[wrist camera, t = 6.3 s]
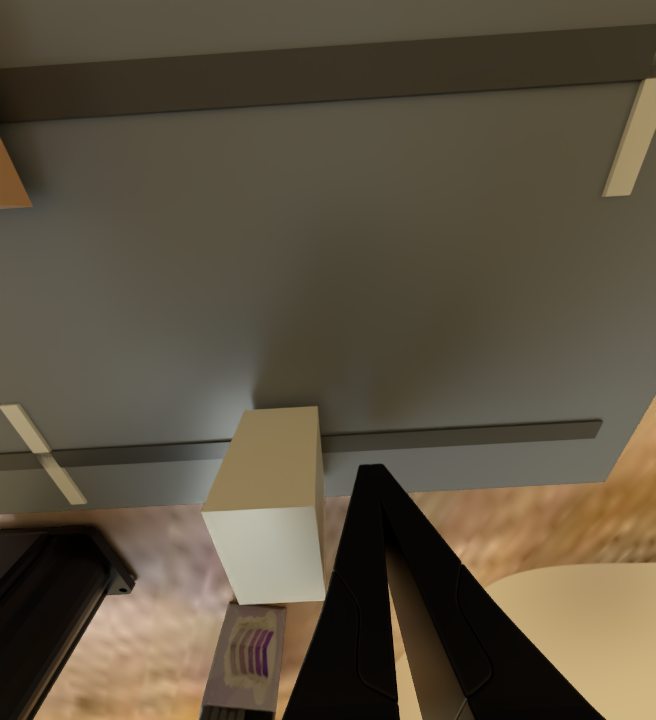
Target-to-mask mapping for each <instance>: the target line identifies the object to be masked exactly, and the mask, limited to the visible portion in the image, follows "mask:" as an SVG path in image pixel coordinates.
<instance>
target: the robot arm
mask: <svg viewBox="0 0 656 720" xmlns="http://www.w3.org/2000/svg"><path fill="white" fill-rule="evenodd" d="M461 563H462V562H461V560H460V559H459V558H458V557H457V555H456V554H455V553H454V552H453V550H452V549H451V548H450V547H449V545H448V544H447V543H446V542H445V540H444V539H443V538H442V537H441V535H440V534H439V533H438V532H437V530H436V529H435V528H434V527H433V525H432V524H431V523H430V522H429V520H428V519H427V518H426V517H425V515H424V514H423V513H422V512H421V510H420V509H419V508H418V507H417V505H416V504H415V503H414V502H413V500H412V499H411V498H410V497H409V495H408V494H407V493H406V492H405V490H404V489H403V488H402V487H401V485H400V484H399V483H398V482H397V480H396V479H395V478H394V477H393V475H392V474H391V473H390V472H389V470H388V469H387V468H386V467H385V465H384V464H381V463H380V464H361V465H359V467H358V471H357V475H356V479H355V483H354V487H353V491H352V495H351V499H350V503H349V507H348V511H347V515H346V519H345V523H344V527H343V531H342V535H341V539H340V543H339V547H338V551H337V555H336V559H335V563H334V567H333V571H332V574H331V578H330V582H329V586H328V590H327V593H326V597H325V600H324V604H323V607H322V611H321V614H320V617H319V620H318V623H317V625H316V628H315V631H314V634H313V637H312V640H311V643H310V645H309V648H308V651H307V653H306V656H305V659H304V661H303V664H302V667H301V670H300V672H299V675H298V678H297V680H296V683H295V686H294V688H293V691H292V694H291V696H290V699H289V702H288V705H287V707H286V710H285V712H284V715H283V718H282V720H400V716H399V706H398V693H397V682H396V670H395V658H394V647H393V635H392V624H391V612H390V601H389V589H388V583H389V587H390V591H391V595H392V599H393V603H394V607H395V611H396V615H397V619H398V623H399V627H400V631H401V635H402V639H403V643H404V647H405V651H406V655H407V659H408V663H409V667H410V671H411V675H412V679H413V683H414V687H415V691H416V695H417V699H418V703H419V707H420V711H421V715H422V719H423V720H606V719H605V718H604V717H603V716H602V715H601V714H600V713H599V712H597V710H595V709H594V708H593V707H592V706H591V705H590V704H589V703H588V702H587V701H586V700H585V698H584V697H583V696H582V695H581V694H580V693H579V692H578V691H577V690H576V689H575V688H574V687H573V686H572V685H571V684H570V683H569V682H568V680H567V679H565V677H564V676H563V675H562V674H561V673H560V672H559V671H558V670H557V669H556V668H555V667H554V665H553V664H552V663H551V662H550V661H549V660H548V659H547V658H546V657H545V656H544V655H543V654H542V653H541V652H540V650H539V649H538V648H537V647H536V646H535V645H534V644H533V643H532V642H531V641H530V640H529V639H528V638H527V637H526V636H525V634H524V633H523V632H522V631H521V630H520V629H519V628H518V627H517V626H516V625H515V624H514V623H513V622H512V620H511V619H510V618H509V617H508V616H507V615H506V614H505V613H504V612H503V611H502V609H501V608H500V607H499V606H498V605H497V604H496V603H495V602H494V600H493V599H492V598H491V597H490V596H489V595H488V594H487V592H486V591H485V590H484V589H483V587H482V586H481V585H480V584H479V583H478V581H477V580H476V579H475V578H474V576H473V575H472V574H471V573H470V571H469V570H468V569H467V568H466V566H465V565H464V564H462V565H461ZM134 586H135V582H134V580H133V579H132V578H131V576H130V575H129V574H128V572H127V571H126V569H125V568H124V567H123V565H122V564H121V562H120V561H119V560H118V558H117V557H116V555H115V554H114V553H113V551H112V550H111V549H110V547H109V546H108V544H107V543H106V542H105V540H104V539H103V537H102V536H101V535H100V533H99V532H98V531H97V530H96V529H95V528H93V527H90V526H73V527H54V528H35V529H16V530H0V720H33V719H34V717H35V715H36V714H37V712H38V710H39V708H40V707H41V705H42V703H43V702H44V700H45V698H46V697H47V695H48V693H49V692H50V690H51V688H52V686H53V685H54V683H55V681H56V680H57V678H58V676H59V675H60V673H61V671H62V669H63V668H64V666H65V664H66V663H67V661H68V659H69V658H70V656H71V654H72V653H73V651H74V649H75V647H76V646H77V644H78V642H79V641H80V639H81V637H82V636H83V634H84V632H85V631H86V629H87V627H88V625H89V624H90V622H91V620H92V619H93V617H94V615H95V614H96V612H97V610H98V608H99V607H100V605H101V603H102V602H103V600H104V598H105V597H106V595H121V594H130V593H131V591H132V590H133V588H134Z"/></svg>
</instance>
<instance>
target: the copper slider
mask: <svg viewBox="0 0 656 720" xmlns="http://www.w3.org/2000/svg"><path fill="white" fill-rule="evenodd" d="M25 207H33V205H32V203H31V201H30V199H29V197H28V195H27V193H26V191H25V188H24V186H23V184H22V182H21V180H20V178H19V176H18V174H17V172H16V170H15V167H14V165H13V163H12V161H11V159H10V157H9V155H8V153H7V151H6V149H5V146H4V144H3V142H2V140H1V138H0V209H9V208H25Z"/></svg>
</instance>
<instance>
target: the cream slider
mask: <svg viewBox="0 0 656 720" xmlns="http://www.w3.org/2000/svg"><path fill="white" fill-rule="evenodd" d="M201 514H202V516H203V519H204V521H205V524H206V526H207V528H208V531H209V533H210V536H211V538H212V540H213V543H214V545H215V548H216V550H217V552H218V555H219V557H220V560H221V562H222V564H223V567H224V569H225V572H226V574H227V576H228V579H229V581H230V584H231V586H232V588H233V591H234V593H235V596H236V598H237V600H238V603H239V605H248V604H268V603H288V602H308V601H324V600H325V597H326V542H325V483H324V472H323V461H322V450H321V438H320V427H319V416H318V406H310V407H293V408H275V409H257V410H244V413H243V415H242V417H241V420H240V422H239V424H238V427H237V429H236V431H235V434H234V436H233V438H232V441H231V443H230V445H229V448H228V450H227V452H226V455H225V457H224V459H223V462H222V464H221V466H220V469H219V471H218V473H217V475H216V478H215V480H214V482H213V485H212V487H211V489H210V492H209V494H208V496H207V499H206V501H205V503H204V506H203V508H202V510H201Z"/></svg>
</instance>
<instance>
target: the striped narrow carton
mask: <svg viewBox="0 0 656 720" xmlns="http://www.w3.org/2000/svg"><path fill="white" fill-rule="evenodd" d="M285 620H286V608H279V607H270V606H261V605H252V604H248V605H239V603H234V602H230V603H229V604H228V608H227V611H226V615H225V619H224V622H223V626H222V629H221V633H220V636H219V640H218V644H217V647H216V651H215V655H214V658H213V662H212V666H211V670H210V674H209V678H208V681H207V685H206V689H205V692H204V696H203V700H202V704H201V709H200V714H199V720H275V714H276V706H277V697H278V688H279V679H280V669H281V660H282V650H283V640H284V630H285Z"/></svg>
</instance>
